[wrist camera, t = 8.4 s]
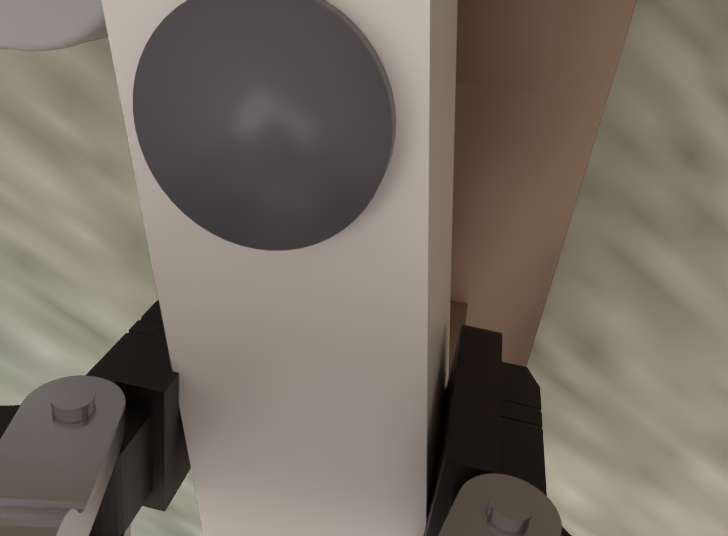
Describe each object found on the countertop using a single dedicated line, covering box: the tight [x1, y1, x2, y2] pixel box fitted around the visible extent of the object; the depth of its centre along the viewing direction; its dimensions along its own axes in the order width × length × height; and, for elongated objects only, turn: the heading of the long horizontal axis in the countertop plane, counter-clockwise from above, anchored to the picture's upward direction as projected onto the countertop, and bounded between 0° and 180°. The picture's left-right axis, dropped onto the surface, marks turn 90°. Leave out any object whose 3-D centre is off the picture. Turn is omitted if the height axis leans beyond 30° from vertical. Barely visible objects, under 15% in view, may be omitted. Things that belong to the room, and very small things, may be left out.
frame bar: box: [101, 0, 458, 536], centre depth 11 cm, size 16×4×4 cm, turn 2°
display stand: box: [449, 0, 637, 373], centre depth 18 cm, size 10×17×10 cm, turn 172°
